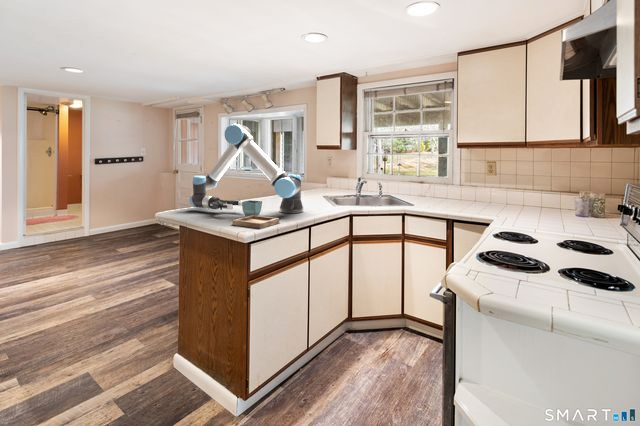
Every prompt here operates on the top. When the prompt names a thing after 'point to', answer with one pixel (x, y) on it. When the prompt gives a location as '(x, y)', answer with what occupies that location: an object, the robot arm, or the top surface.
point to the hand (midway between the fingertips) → (240, 205)
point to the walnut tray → (255, 221)
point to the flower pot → (251, 207)
